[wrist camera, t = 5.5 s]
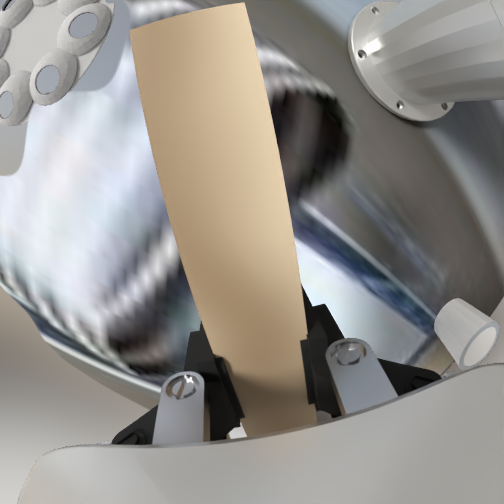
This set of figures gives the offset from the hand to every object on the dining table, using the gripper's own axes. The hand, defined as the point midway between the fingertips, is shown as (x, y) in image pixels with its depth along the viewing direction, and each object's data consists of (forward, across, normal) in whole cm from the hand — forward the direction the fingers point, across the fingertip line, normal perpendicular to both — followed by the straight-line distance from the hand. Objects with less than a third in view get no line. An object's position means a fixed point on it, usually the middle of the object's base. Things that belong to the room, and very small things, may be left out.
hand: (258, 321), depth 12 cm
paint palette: (+15, +17, -25) cm, 34 cm away
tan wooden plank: (+1, 0, -1) cm, 1 cm away
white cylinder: (+14, -23, +17) cm, 32 cm away
